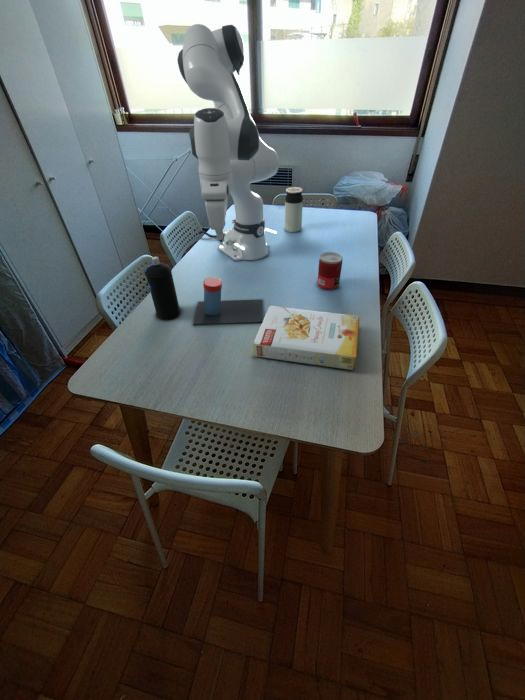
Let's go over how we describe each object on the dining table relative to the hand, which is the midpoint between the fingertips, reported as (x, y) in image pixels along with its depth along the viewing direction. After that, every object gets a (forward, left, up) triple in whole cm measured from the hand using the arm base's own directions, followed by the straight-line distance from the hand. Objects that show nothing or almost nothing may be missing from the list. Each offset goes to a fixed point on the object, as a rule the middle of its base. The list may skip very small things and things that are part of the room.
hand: (221, 231), depth 104 cm
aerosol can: (-11, -17, -26) cm, 33 cm away
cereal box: (+33, +2, -26) cm, 42 cm away
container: (0, -7, -25) cm, 26 cm away
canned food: (+18, +33, -26) cm, 45 cm away
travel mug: (-25, +64, -26) cm, 73 cm away
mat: (+4, -3, -26) cm, 26 cm away
